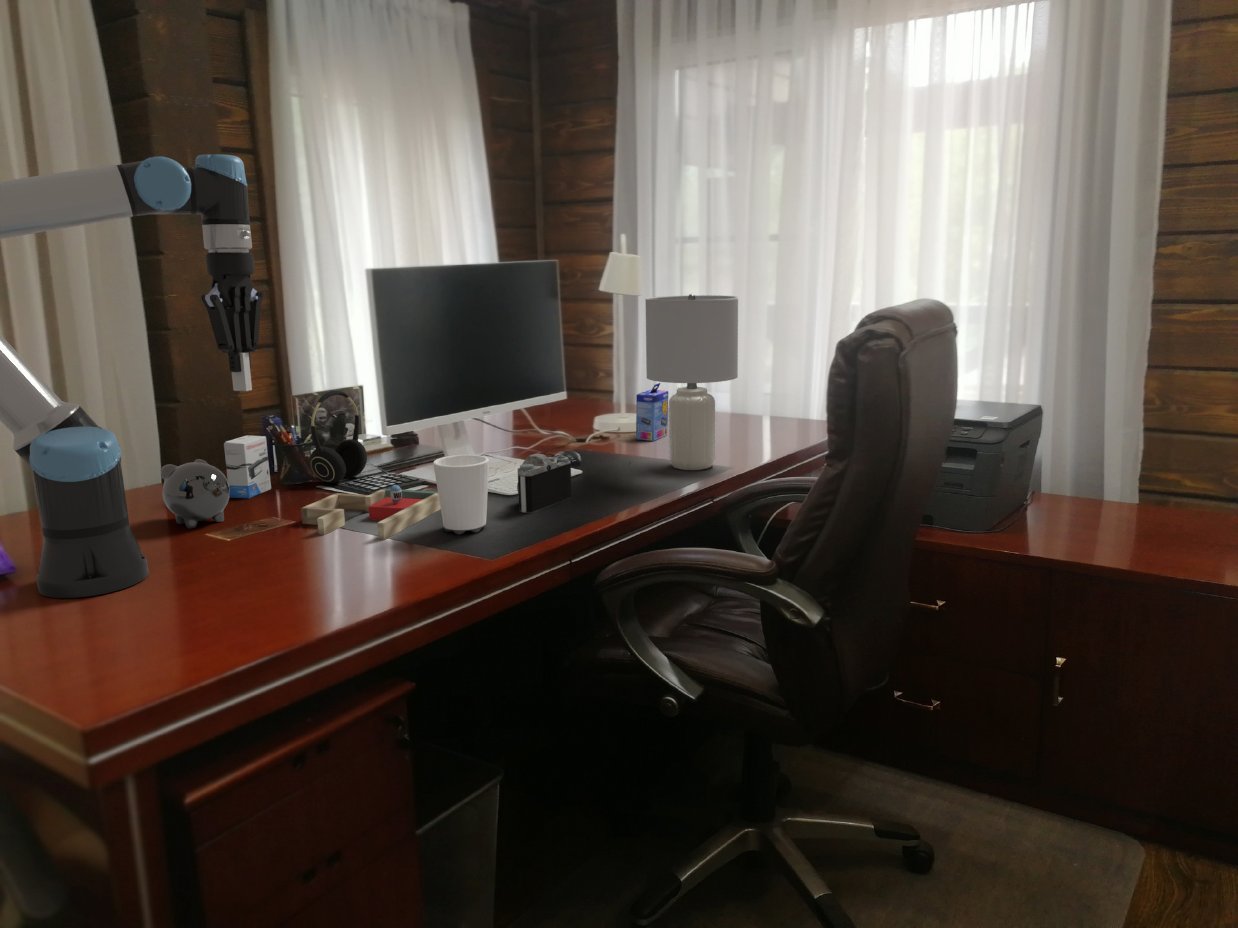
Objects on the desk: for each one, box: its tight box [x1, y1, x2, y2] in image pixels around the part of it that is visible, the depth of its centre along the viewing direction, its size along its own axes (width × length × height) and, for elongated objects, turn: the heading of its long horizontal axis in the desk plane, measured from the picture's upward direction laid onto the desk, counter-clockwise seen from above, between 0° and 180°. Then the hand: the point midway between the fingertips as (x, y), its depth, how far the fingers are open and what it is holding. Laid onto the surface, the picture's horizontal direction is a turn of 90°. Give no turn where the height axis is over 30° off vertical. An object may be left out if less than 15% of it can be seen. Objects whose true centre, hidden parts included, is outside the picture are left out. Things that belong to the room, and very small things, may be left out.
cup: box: [433, 454, 490, 535], centre depth 170 cm, size 10×10×13 cm
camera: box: [516, 452, 573, 514], centre depth 187 cm, size 15×7×10 cm, turn 147°
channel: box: [300, 488, 441, 541], centre depth 178 cm, size 22×21×3 cm
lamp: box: [645, 293, 739, 471], centre depth 212 cm, size 20×20×39 cm
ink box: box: [223, 435, 272, 499], centre depth 199 cm, size 8×5×12 cm, turn 168°
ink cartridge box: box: [635, 382, 669, 442], centre depth 249 cm, size 10×6×14 cm, turn 154°
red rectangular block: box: [368, 484, 423, 521], centre depth 180 cm, size 8×7×6 cm
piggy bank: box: [160, 458, 230, 530], centre depth 178 cm, size 11×15×12 cm
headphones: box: [309, 390, 368, 484], centre depth 208 cm, size 9×15×20 cm, turn 155°
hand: (242, 390), depth 165 cm, fingers closed
